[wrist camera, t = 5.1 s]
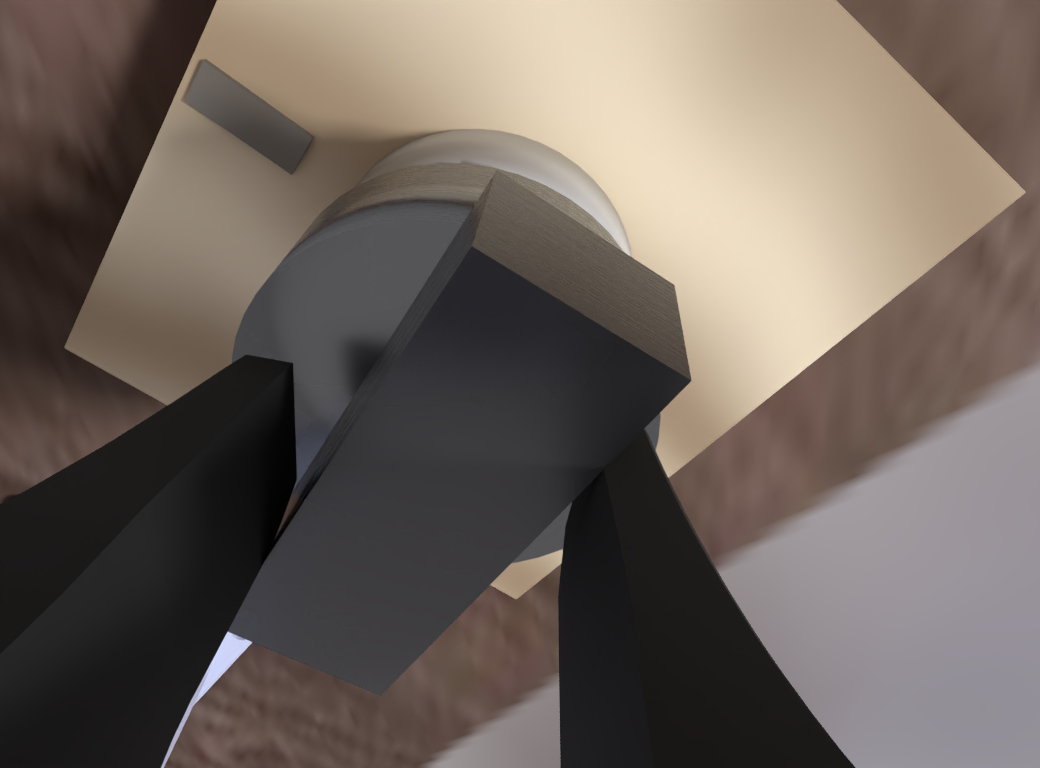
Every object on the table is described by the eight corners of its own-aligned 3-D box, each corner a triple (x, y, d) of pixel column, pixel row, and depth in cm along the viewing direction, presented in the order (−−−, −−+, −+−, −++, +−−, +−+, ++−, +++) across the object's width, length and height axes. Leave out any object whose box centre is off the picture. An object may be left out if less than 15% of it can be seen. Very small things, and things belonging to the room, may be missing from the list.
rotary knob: (756, 282, 11) (822, 462, 8) (477, 574, 15) (444, 768, 12) (397, 40, 9) (291, 134, 6) (200, 440, 14) (77, 621, 10)
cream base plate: (522, 541, 21) (508, 668, 18) (114, 301, 17) (2, 404, 14) (975, 152, 14) (1092, 243, 10) (438, -387, 10) (362, -502, 7)
